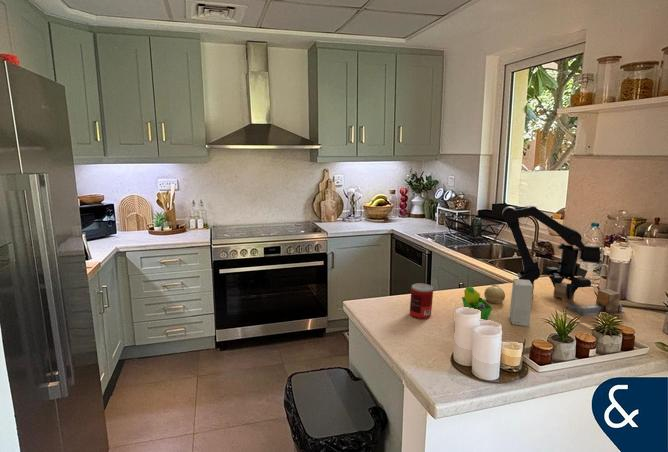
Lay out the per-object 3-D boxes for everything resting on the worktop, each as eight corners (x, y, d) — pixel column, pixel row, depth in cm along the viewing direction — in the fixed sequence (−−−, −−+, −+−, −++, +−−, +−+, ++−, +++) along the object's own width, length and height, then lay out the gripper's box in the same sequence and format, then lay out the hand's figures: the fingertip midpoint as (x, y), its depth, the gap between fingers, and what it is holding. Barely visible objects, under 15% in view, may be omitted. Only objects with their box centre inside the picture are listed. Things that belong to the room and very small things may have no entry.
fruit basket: (492, 322, 145) (496, 291, 143) (468, 321, 145) (471, 291, 143) (479, 309, 157) (482, 281, 154) (456, 309, 156) (459, 281, 154)
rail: (583, 319, 151) (585, 310, 150) (563, 309, 159) (565, 301, 158) (624, 315, 156) (626, 306, 156) (603, 306, 165) (604, 298, 164)
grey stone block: (563, 303, 166) (565, 287, 165) (552, 298, 171) (555, 282, 170) (574, 302, 168) (576, 286, 166) (563, 297, 173) (565, 282, 171)
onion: (508, 303, 165) (510, 286, 163) (496, 306, 160) (498, 289, 159) (491, 296, 171) (492, 280, 170) (479, 300, 167) (481, 283, 165)
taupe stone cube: (606, 312, 156) (609, 294, 154) (594, 306, 161) (596, 290, 160) (617, 311, 157) (620, 293, 156) (605, 305, 162) (607, 289, 161)
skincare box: (529, 327, 142) (534, 286, 139) (510, 324, 144) (515, 284, 141) (525, 318, 150) (530, 279, 147) (508, 315, 152) (512, 277, 149)
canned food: (431, 313, 151) (434, 284, 149) (429, 321, 144) (432, 291, 142) (411, 309, 154) (413, 281, 152) (407, 317, 146) (410, 288, 144)
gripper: (604, 265, 160) (598, 303, 162) (566, 253, 177) (561, 287, 180) (582, 267, 156) (576, 305, 159) (545, 254, 174) (540, 289, 177)
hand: (563, 296), depth 169 cm, fingers closed on grey stone block, 5 cm apart
